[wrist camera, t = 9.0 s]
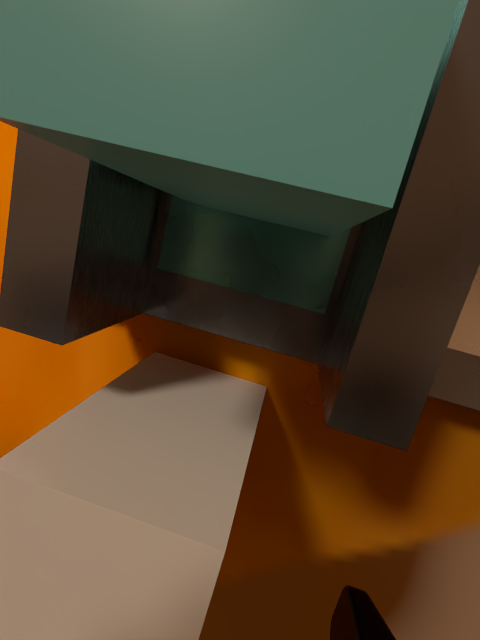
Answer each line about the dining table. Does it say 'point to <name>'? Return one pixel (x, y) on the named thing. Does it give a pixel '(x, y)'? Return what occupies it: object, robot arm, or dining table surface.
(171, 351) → the dining table surface
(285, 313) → the slot rack
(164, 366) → the off-white plug
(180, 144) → the teal plug
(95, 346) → the dining table surface
